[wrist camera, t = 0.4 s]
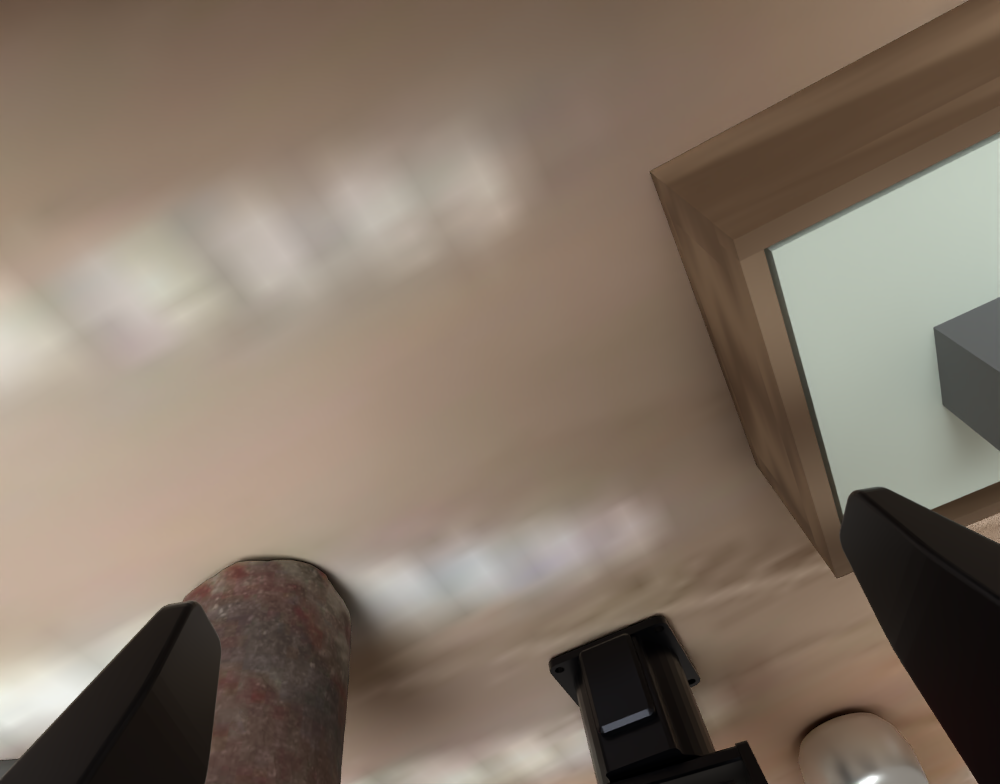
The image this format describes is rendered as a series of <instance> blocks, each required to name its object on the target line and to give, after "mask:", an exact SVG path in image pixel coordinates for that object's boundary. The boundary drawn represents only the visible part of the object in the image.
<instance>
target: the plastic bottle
mask: <svg viewBox="0 0 1000 784" xmlns="http://www.w3.org/2000/svg"><path fill="white" fill-rule="evenodd" d="M799 766H800V770H801V773H802V776H803V779H804V782H805V784H929V783H928V780H927V778H926V775H925V773H924V771H923V769H922V767H921V765H920V763H919V761H918V759H917V757H916V755H915V753H914V751H913V749H912V747H911V746H910V744H909V743H908V742H907V741H906V740H905V739H904V737H903V736H902V735H901V734H900V733H899V732H898V730H897V729H896V728H895V727H894V726H893V725H892V724H891V723H889V722H887V721H886V720H884V719H882V718H880V717H879V716H877V715H874V714H872V713H852V714H847V715H843V716H839V717H836V718H833V719H831V720H829V721H827V722H825V723H823V724H821V725H819V726H818V727H816V728H815V729H813V730H812V731H811V732H810V733H809V734H807V735H806V737H805V738H804V739H803V740H802V742H801V744H800V751H799Z"/></svg>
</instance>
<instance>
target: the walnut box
mask: <svg viewBox="0 0 1000 784" xmlns="http://www.w3.org/2000/svg"><path fill="white" fill-rule="evenodd" d="M998 132H1000V0H969V1H967V2H965V3H963V4H962V5H960V6H958V7H956V8H954V9H952V10H950V11H948V12H947V13H945V14H943V15H941V16H939V17H937V18H935V19H934V20H932V21H930V22H928V23H926V24H924V25H922V26H920V27H919V28H917V29H915V30H913V31H911V32H909V33H907V34H906V35H904V36H902V37H900V38H898V39H896V40H894V41H892V42H891V43H889V44H887V45H885V46H883V47H881V48H879V49H878V50H876V51H874V52H872V53H870V54H868V55H866V56H864V57H863V58H861V59H859V60H857V61H855V62H853V63H851V64H850V65H848V66H846V67H844V68H842V69H840V70H838V71H836V72H835V73H833V74H831V75H829V76H827V77H825V78H823V79H821V80H820V81H818V82H816V83H814V84H812V85H810V86H808V87H807V88H805V89H803V90H801V91H799V92H797V93H795V94H793V95H792V96H790V97H788V98H786V99H784V100H782V101H780V102H779V103H777V104H775V105H773V106H771V107H769V108H767V109H765V110H764V111H762V112H760V113H758V114H756V115H754V116H752V117H751V118H749V119H747V120H745V121H743V122H741V123H739V124H737V125H736V126H734V127H732V128H730V129H728V130H726V131H724V132H723V133H721V134H719V135H717V136H715V137H713V138H711V139H709V140H708V141H706V142H704V143H702V144H700V145H698V146H696V147H694V148H693V149H691V150H689V151H687V152H685V153H683V154H681V155H680V156H678V157H676V158H674V159H672V160H670V161H668V162H666V163H665V164H663V165H661V166H659V167H657V168H655V169H653V170H652V171H650V174H651V176H652V179H653V182H654V185H655V187H656V190H657V193H658V196H659V198H660V201H661V204H662V207H663V209H664V212H665V215H666V218H667V220H668V223H669V226H670V229H671V231H672V234H673V237H674V240H675V242H676V245H677V248H678V251H679V253H680V256H681V259H682V262H683V264H684V267H685V270H686V272H687V275H688V278H689V281H690V283H691V286H692V289H693V292H694V294H695V297H696V300H697V303H698V305H699V308H700V311H701V314H702V316H703V319H704V322H705V325H706V327H707V330H708V333H709V336H710V338H711V341H712V344H713V347H714V349H715V352H716V355H717V358H718V360H719V363H720V366H721V369H722V371H723V374H724V377H725V380H726V382H727V385H728V388H729V391H730V393H731V396H732V399H733V402H734V404H735V407H736V410H737V413H738V415H739V418H740V421H741V424H742V426H743V429H744V432H745V435H746V437H747V440H748V443H749V446H750V448H751V451H752V454H753V457H754V459H755V462H756V465H757V466H758V468H759V469H760V471H761V472H762V473H763V475H764V476H765V478H766V479H767V481H768V482H769V483H770V485H771V486H772V488H773V489H774V490H775V492H776V493H777V495H778V496H779V497H780V499H781V500H782V502H783V503H784V505H785V506H786V507H787V509H788V510H789V512H790V513H791V514H792V516H793V517H794V519H795V520H796V521H797V523H798V524H799V526H800V527H801V528H802V530H803V531H804V533H805V534H806V536H807V537H808V538H809V540H810V541H811V543H812V544H813V545H814V547H815V548H816V550H817V551H818V552H819V554H820V555H821V557H822V558H823V560H824V561H825V562H826V564H827V565H828V567H829V568H830V569H831V571H832V572H833V574H834V575H835V576H836V578H840V577H842V576H844V575H847V574H849V573H852V572H854V571H853V569H852V567H851V565H850V563H849V561H848V559H847V557H846V555H845V553H844V551H843V549H842V546H841V543H840V536H839V533H840V527H841V524H840V521H839V517H838V514H837V510H836V506H835V503H834V499H833V496H832V492H831V489H830V485H829V481H828V478H827V474H826V471H825V467H824V463H823V460H822V456H821V453H820V449H819V445H818V442H817V438H816V435H815V431H814V428H813V424H812V420H811V417H810V413H809V410H808V406H807V402H806V399H805V395H804V392H803V388H802V385H801V381H800V377H799V374H798V370H797V367H796V363H795V359H794V356H793V352H792V349H791V345H790V341H789V338H788V334H787V331H786V327H785V324H784V320H783V316H782V313H781V309H780V306H779V302H778V298H777V295H776V291H775V288H774V284H773V280H772V277H771V273H770V270H769V266H768V263H767V259H766V255H765V252H764V249H766V248H768V247H770V246H772V245H774V244H776V243H778V242H780V241H782V240H784V239H786V238H788V237H790V236H792V235H794V234H796V233H798V232H800V231H802V230H804V229H806V228H808V227H810V226H812V225H814V224H816V223H818V222H820V221H822V220H824V219H826V218H828V217H830V216H832V215H834V214H836V213H838V212H840V211H842V210H844V209H846V208H848V207H850V206H852V205H854V204H856V203H858V202H860V201H862V200H864V199H866V198H868V197H870V196H872V195H874V194H876V193H878V192H880V191H882V190H884V189H886V188H888V187H890V186H892V185H894V184H896V183H898V182H900V181H902V180H904V179H906V178H908V177H910V176H912V175H914V174H916V173H918V172H920V171H922V170H924V169H926V168H928V167H930V166H932V165H934V164H936V163H938V162H940V161H942V160H944V159H946V158H948V157H950V156H952V155H954V154H956V153H958V152H960V151H962V150H964V149H966V148H968V147H970V146H972V145H974V144H976V143H978V142H980V141H982V140H984V139H986V138H988V137H990V136H992V135H994V134H996V133H998ZM931 510H932V511H934V512H936V513H938V514H940V515H942V516H944V517H946V518H948V519H950V520H952V521H954V522H956V523H958V524H960V525H962V526H964V527H965V526H968V525H970V524H973V523H975V522H978V521H980V520H983V519H985V518H987V517H990V516H992V515H995V514H997V513H1000V481H999V482H997V483H994V484H992V485H989V486H987V487H984V488H982V489H980V490H977V491H975V492H972V493H970V494H968V495H965V496H963V497H960V498H958V499H955V500H953V501H951V502H948V503H946V504H943V505H941V506H938V507H936V508H934V509H931Z"/></svg>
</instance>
